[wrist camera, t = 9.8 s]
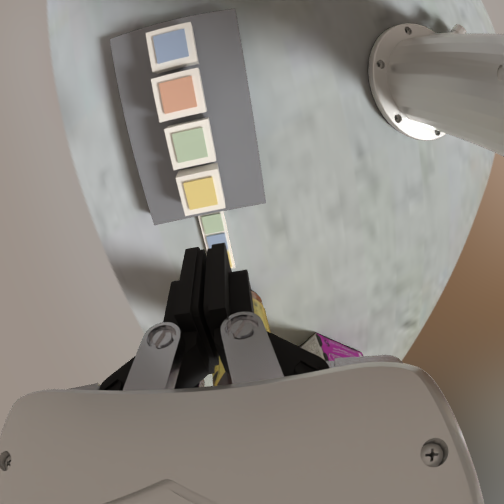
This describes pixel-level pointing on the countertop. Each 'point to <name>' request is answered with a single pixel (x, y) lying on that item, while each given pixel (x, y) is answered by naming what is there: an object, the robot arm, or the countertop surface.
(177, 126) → the key sage
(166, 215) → the keypad board
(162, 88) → the key terracotta
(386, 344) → the countertop surface
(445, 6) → the countertop surface
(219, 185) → the key mustard
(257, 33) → the countertop surface
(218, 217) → the strip
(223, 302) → the robot arm
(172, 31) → the key blue
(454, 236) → the countertop surface
